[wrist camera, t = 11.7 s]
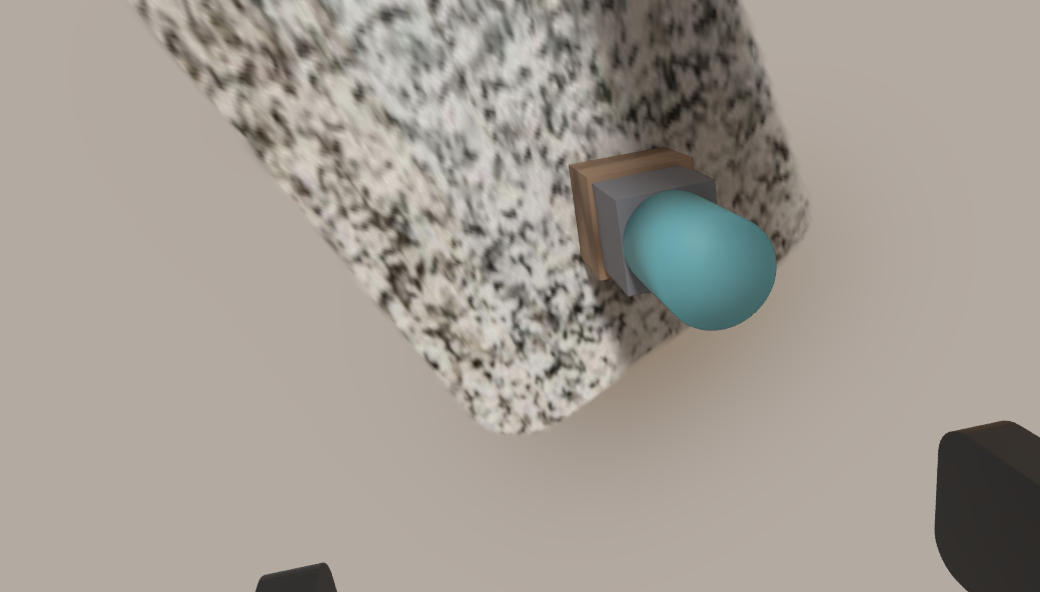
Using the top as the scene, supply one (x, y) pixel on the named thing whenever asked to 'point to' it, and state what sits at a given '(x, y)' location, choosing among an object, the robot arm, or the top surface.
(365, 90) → the top surface
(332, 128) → the top surface
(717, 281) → the teal cylinder
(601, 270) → the walnut base block
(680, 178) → the charcoal top block
